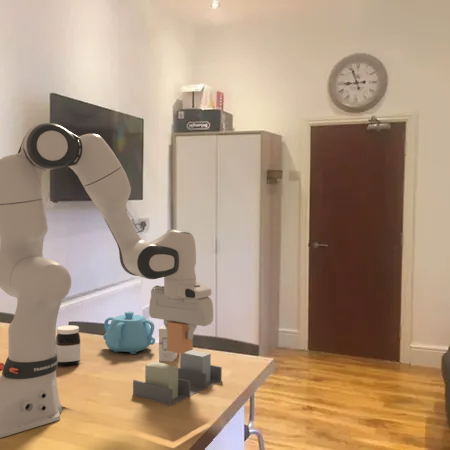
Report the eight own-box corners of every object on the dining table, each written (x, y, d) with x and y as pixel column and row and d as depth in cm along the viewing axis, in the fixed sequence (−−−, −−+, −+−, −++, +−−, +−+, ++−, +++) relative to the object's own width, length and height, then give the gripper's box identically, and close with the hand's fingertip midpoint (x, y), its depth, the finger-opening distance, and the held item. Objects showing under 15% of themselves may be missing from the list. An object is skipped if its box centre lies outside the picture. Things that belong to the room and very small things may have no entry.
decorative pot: (146, 342, 203) (146, 306, 203) (157, 353, 188) (157, 314, 188) (102, 346, 197) (102, 309, 196) (110, 358, 182) (110, 318, 182)
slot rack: (170, 409, 138) (171, 389, 138) (133, 398, 145) (133, 380, 145) (221, 383, 158) (221, 367, 157) (185, 375, 165) (186, 359, 164)
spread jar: (82, 366, 173) (82, 330, 172) (44, 370, 169) (44, 333, 168) (77, 356, 184) (77, 322, 184) (42, 359, 180) (42, 324, 179)
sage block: (168, 400, 141) (168, 370, 141) (145, 394, 145) (145, 365, 145) (178, 396, 144) (178, 366, 144) (155, 390, 149) (155, 361, 148)
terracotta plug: (181, 353, 148) (181, 324, 147) (167, 350, 150) (167, 322, 150) (192, 349, 152) (192, 321, 151) (178, 346, 154) (178, 319, 154)
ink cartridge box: (166, 356, 185) (166, 313, 184) (180, 357, 184) (180, 314, 183) (157, 363, 176) (158, 319, 176) (172, 365, 175) (172, 320, 175)
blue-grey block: (202, 384, 154) (202, 356, 153) (180, 379, 158) (180, 352, 158) (210, 380, 157) (210, 353, 157) (188, 375, 161) (188, 349, 161)
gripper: (144, 286, 153) (144, 334, 154) (203, 293, 142) (202, 345, 143) (158, 283, 158) (158, 330, 159) (216, 290, 147) (216, 340, 148)
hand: (180, 337), depth 151 cm, fingers closed on terracotta plug, 5 cm apart
